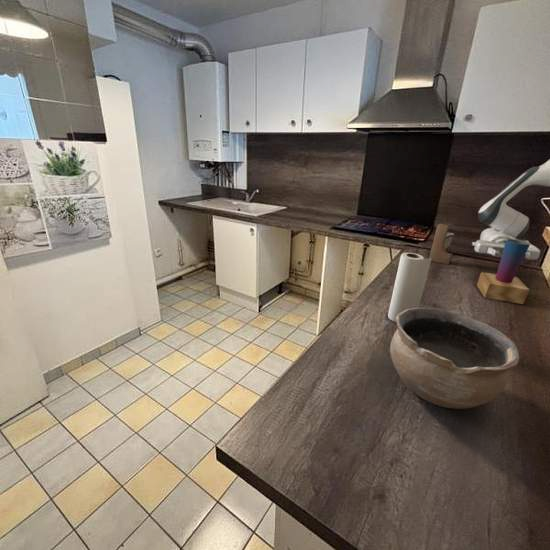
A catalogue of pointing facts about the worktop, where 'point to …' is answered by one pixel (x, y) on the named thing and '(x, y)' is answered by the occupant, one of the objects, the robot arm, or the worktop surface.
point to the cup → (511, 259)
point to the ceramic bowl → (451, 357)
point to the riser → (502, 289)
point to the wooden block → (440, 246)
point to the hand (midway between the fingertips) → (512, 255)
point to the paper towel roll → (408, 283)
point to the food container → (448, 241)
